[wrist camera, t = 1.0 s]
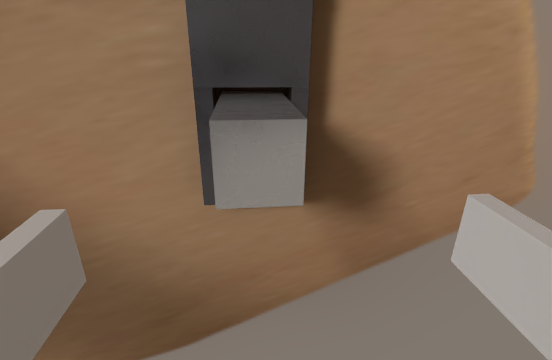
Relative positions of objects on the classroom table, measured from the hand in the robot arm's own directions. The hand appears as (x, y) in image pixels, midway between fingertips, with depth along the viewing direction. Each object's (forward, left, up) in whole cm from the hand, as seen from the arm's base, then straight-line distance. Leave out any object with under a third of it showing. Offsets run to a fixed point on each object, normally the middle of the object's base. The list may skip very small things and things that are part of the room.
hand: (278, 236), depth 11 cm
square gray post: (0, 0, -19) cm, 19 cm away
